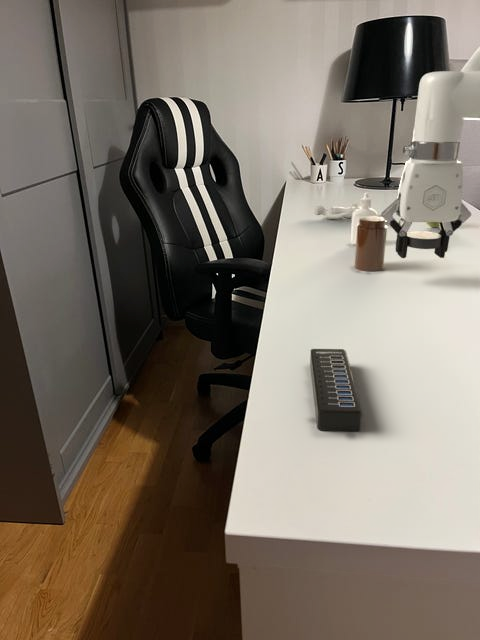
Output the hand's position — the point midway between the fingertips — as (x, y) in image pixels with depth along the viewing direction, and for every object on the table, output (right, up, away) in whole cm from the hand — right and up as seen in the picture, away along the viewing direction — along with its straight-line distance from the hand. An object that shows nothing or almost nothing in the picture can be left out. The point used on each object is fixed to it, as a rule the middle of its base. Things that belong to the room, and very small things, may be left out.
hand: (420, 255), depth 91 cm
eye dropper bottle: (-4, +6, +29) cm, 30 cm away
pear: (+19, +13, +43) cm, 49 cm away
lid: (0, +3, -1) cm, 3 cm away
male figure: (-1, +17, +55) cm, 57 cm away
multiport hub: (-22, -21, -34) cm, 45 cm away
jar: (-7, -1, +11) cm, 13 cm away
